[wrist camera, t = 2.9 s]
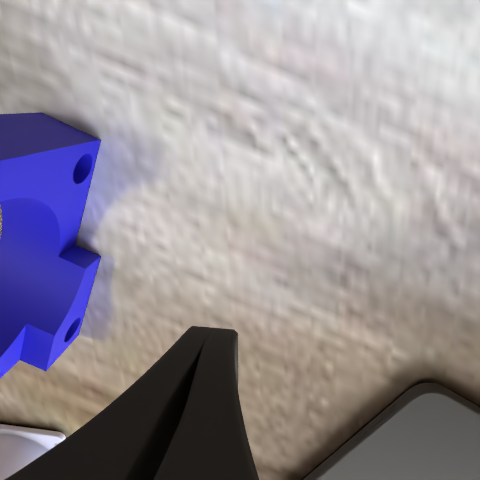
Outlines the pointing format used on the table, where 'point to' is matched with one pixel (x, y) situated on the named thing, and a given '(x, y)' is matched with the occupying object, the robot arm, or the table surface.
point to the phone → (412, 441)
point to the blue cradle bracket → (42, 237)
